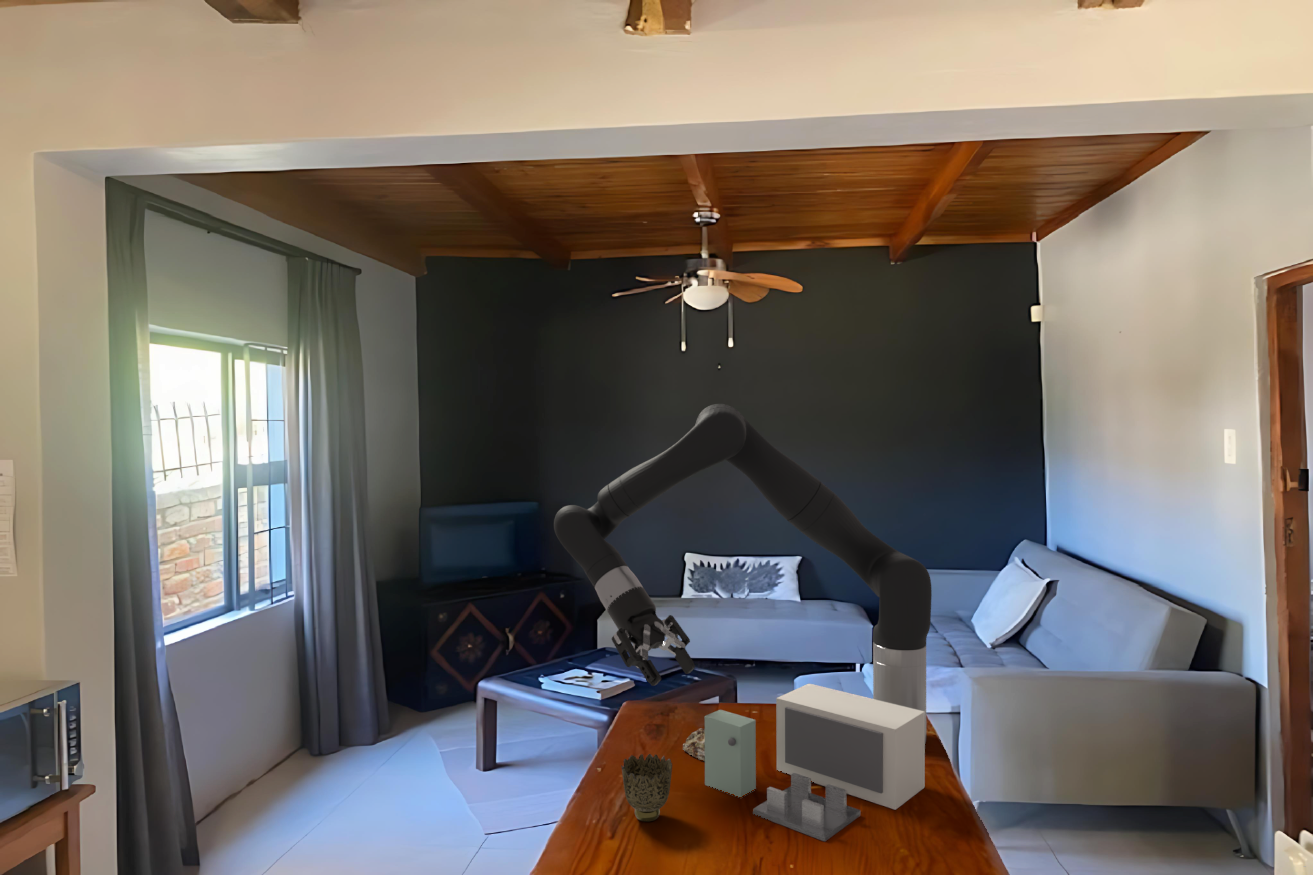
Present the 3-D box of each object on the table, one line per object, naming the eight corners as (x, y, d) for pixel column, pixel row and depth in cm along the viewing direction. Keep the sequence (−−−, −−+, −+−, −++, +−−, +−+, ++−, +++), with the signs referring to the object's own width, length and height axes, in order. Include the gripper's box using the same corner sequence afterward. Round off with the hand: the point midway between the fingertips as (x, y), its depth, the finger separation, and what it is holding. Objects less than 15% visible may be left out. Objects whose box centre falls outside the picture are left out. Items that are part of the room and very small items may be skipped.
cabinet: (809, 751, 145) (808, 683, 145) (924, 787, 131) (924, 711, 131) (774, 771, 137) (774, 698, 137) (893, 811, 123) (893, 730, 123)
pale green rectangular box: (720, 776, 136) (720, 709, 135) (755, 789, 131) (755, 719, 131) (700, 787, 132) (700, 718, 132) (736, 800, 127) (736, 728, 127)
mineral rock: (673, 731, 150) (714, 715, 152) (679, 754, 150) (720, 737, 152) (692, 757, 139) (735, 739, 141) (699, 781, 140) (742, 762, 142)
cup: (667, 832, 118) (667, 776, 117) (616, 827, 119) (616, 772, 119) (676, 808, 125) (676, 755, 125) (628, 803, 126) (628, 751, 126)
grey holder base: (790, 791, 130) (790, 767, 130) (860, 815, 122) (860, 789, 122) (753, 814, 123) (753, 788, 123) (824, 841, 115) (824, 814, 115)
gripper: (606, 592, 139) (657, 674, 132) (663, 579, 150) (713, 654, 143) (584, 618, 143) (633, 700, 136) (641, 604, 154) (689, 679, 146)
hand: (674, 676), depth 139 cm, fingers open, 8 cm apart
